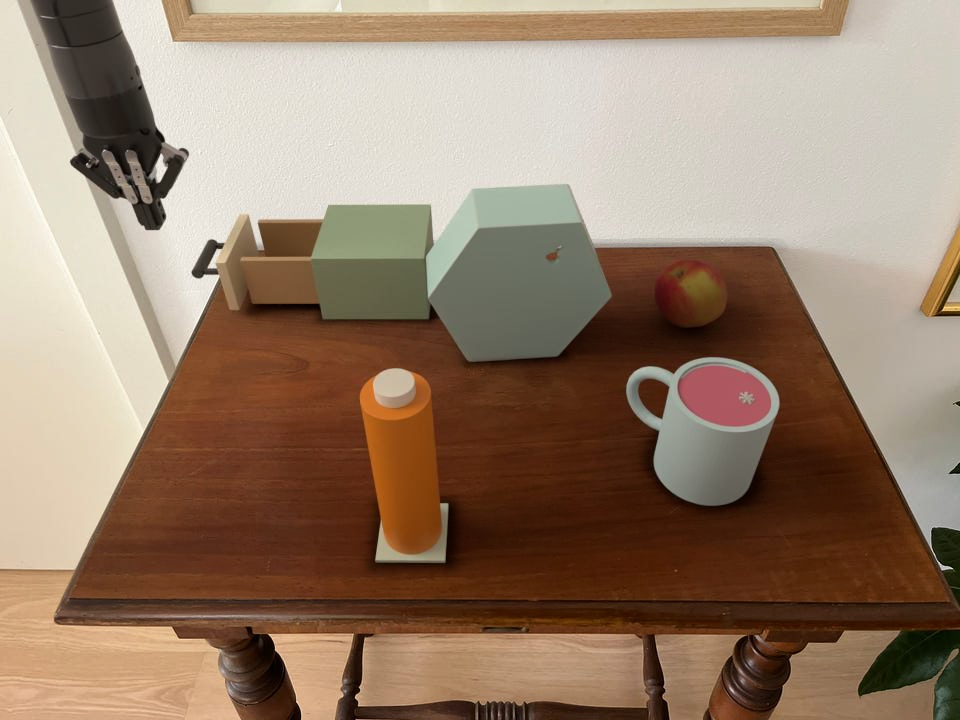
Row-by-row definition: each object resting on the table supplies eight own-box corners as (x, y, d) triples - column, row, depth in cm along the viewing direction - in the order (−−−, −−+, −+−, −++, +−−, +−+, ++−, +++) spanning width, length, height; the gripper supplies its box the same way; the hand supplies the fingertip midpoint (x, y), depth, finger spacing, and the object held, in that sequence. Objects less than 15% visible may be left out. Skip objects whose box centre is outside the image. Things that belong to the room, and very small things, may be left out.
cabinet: (322, 319, 87) (310, 258, 81) (338, 263, 96) (328, 204, 90) (428, 319, 87) (424, 258, 81) (434, 263, 96) (430, 204, 90)
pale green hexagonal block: (521, 344, 90) (629, 218, 79) (530, 387, 84) (647, 258, 74) (401, 291, 83) (501, 144, 72) (402, 334, 77) (510, 182, 67)
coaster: (375, 562, 62) (375, 560, 62) (383, 505, 67) (383, 502, 67) (445, 563, 62) (445, 560, 62) (448, 505, 67) (448, 503, 66)
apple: (671, 293, 90) (682, 238, 85) (731, 320, 86) (746, 264, 81) (637, 322, 86) (647, 266, 81) (698, 352, 82) (712, 295, 77)
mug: (768, 461, 70) (797, 387, 63) (723, 522, 65) (749, 449, 58) (645, 397, 77) (659, 324, 70) (595, 447, 72) (606, 374, 65)
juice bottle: (372, 541, 64) (343, 394, 51) (402, 497, 67) (382, 350, 55) (424, 563, 62) (407, 417, 50) (452, 517, 65) (442, 370, 53)
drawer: (195, 310, 87) (178, 262, 83) (219, 260, 95) (205, 214, 91) (325, 310, 87) (316, 262, 82) (339, 259, 95) (331, 213, 90)
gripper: (20, 96, 71) (87, 244, 83) (152, 95, 71) (201, 244, 83) (54, 67, 77) (112, 210, 89) (177, 66, 77) (219, 210, 88)
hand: (155, 226), depth 86 cm, fingers closed
